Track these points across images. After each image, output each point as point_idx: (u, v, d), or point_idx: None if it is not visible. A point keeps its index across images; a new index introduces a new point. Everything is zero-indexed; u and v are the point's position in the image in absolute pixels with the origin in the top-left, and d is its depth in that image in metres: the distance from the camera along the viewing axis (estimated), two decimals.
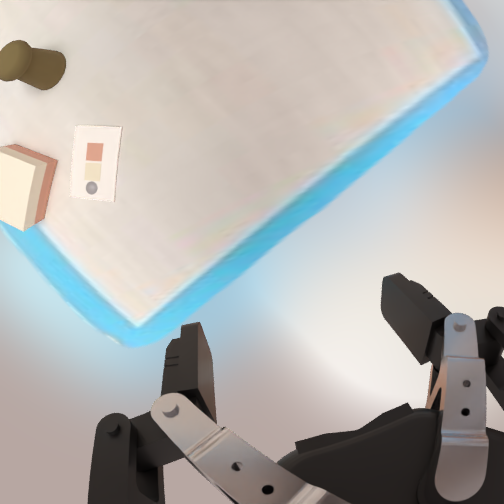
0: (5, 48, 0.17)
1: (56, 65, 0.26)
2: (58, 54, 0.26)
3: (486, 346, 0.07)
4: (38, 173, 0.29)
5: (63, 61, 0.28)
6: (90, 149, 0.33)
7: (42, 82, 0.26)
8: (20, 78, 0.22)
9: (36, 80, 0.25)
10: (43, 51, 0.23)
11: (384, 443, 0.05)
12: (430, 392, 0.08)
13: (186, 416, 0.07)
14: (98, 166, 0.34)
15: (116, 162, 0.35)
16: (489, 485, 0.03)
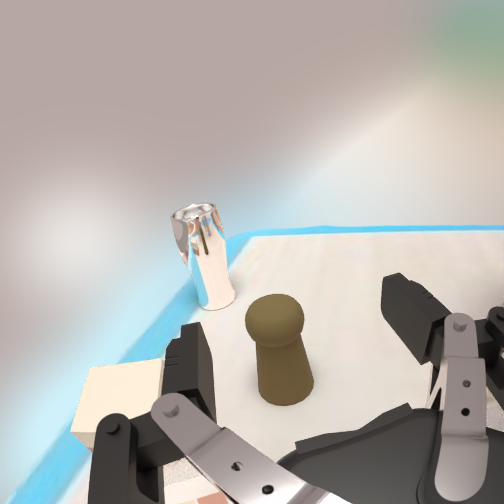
0: (283, 296, 0.26)
1: (298, 387, 0.27)
2: (310, 379, 0.28)
3: (486, 346, 0.07)
4: None
5: (306, 392, 0.28)
6: (213, 498, 0.18)
7: (267, 384, 0.27)
8: (258, 348, 0.26)
9: (266, 373, 0.26)
10: (304, 355, 0.27)
11: (384, 443, 0.05)
12: (430, 392, 0.08)
13: (186, 416, 0.07)
14: None
15: None
16: (489, 485, 0.03)
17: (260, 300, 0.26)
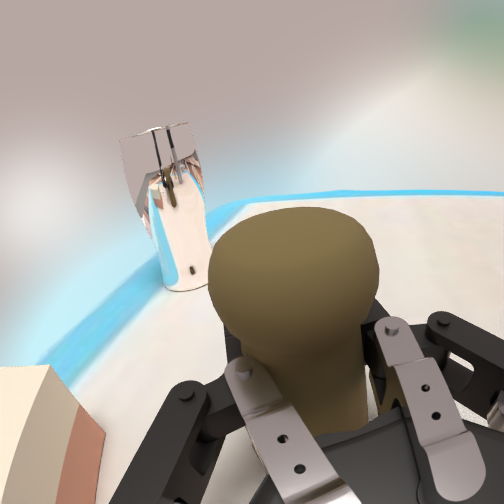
0: (315, 208, 0.09)
1: None
2: (367, 420, 0.11)
3: (424, 352, 0.08)
4: None
5: None
6: None
7: None
8: None
9: None
10: (364, 371, 0.10)
11: (384, 443, 0.05)
12: (379, 401, 0.08)
13: (263, 375, 0.08)
14: None
15: None
16: (490, 485, 0.03)
17: (251, 219, 0.09)
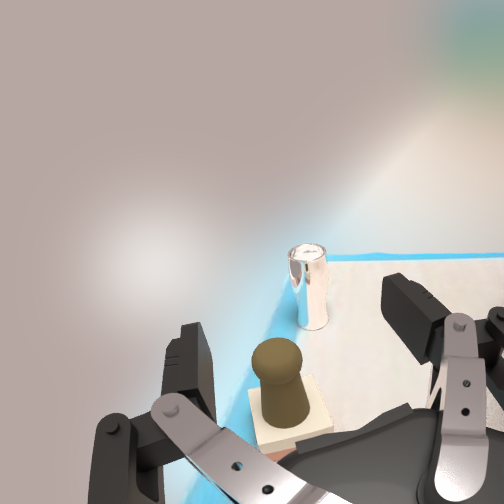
0: (284, 341, 0.29)
1: (296, 414, 0.30)
2: (307, 406, 0.31)
3: (486, 346, 0.07)
4: (324, 433, 0.30)
5: (304, 417, 0.31)
6: None
7: (270, 411, 0.30)
8: (263, 383, 0.29)
9: (269, 403, 0.30)
10: (302, 388, 0.30)
11: (384, 443, 0.05)
12: (430, 392, 0.08)
13: (186, 416, 0.07)
14: None
15: None
16: (490, 485, 0.03)
17: (264, 344, 0.29)
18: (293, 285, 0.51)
